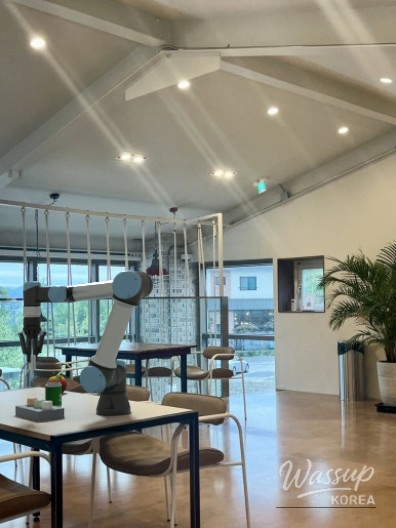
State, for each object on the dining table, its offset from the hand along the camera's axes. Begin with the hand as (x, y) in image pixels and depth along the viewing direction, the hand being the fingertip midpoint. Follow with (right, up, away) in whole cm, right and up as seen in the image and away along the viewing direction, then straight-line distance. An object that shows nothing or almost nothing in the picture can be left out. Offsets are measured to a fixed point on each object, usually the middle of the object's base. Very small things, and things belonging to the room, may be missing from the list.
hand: (32, 370), depth 290 cm
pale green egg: (+5, -17, -6) cm, 19 cm away
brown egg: (0, -17, -1) cm, 17 cm away
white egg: (+9, -17, -12) cm, 22 cm away
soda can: (+6, -21, +15) cm, 26 cm away
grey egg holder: (+5, -19, -7) cm, 21 cm away
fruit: (-4, -24, +69) cm, 73 cm away
